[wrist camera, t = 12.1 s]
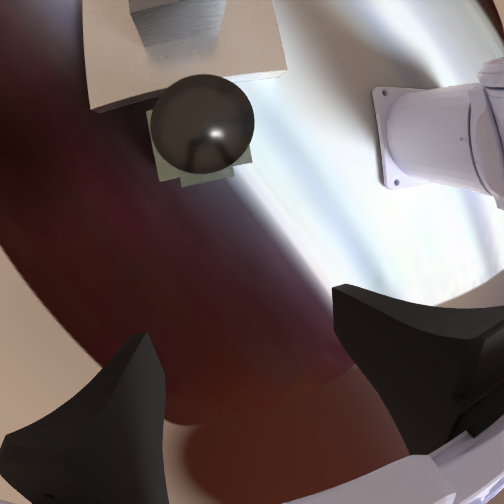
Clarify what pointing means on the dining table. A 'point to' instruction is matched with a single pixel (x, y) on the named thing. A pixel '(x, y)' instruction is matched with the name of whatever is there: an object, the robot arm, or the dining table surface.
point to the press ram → (202, 124)
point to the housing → (175, 19)
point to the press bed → (176, 61)
